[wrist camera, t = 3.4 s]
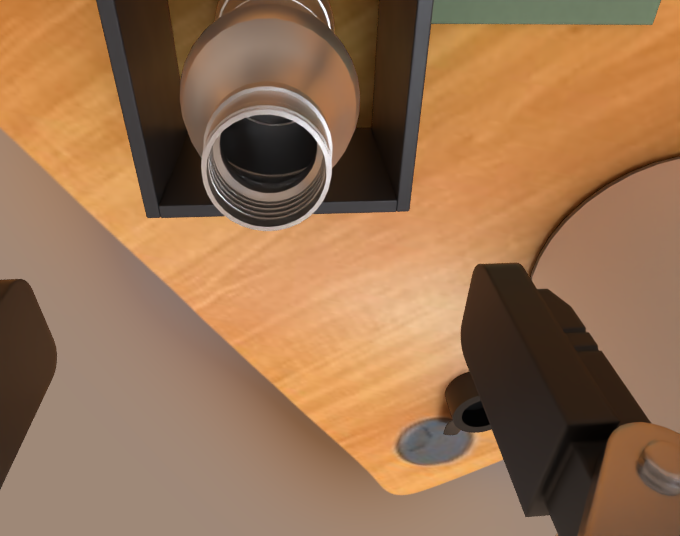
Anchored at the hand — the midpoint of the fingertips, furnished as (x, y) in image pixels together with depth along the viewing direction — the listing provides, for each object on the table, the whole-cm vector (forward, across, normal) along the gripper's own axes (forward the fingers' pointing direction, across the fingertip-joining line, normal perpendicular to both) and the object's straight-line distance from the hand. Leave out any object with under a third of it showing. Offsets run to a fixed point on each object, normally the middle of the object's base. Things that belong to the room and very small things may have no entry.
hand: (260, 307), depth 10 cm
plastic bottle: (+26, 0, 0) cm, 26 cm away
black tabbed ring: (+26, -18, +34) cm, 46 cm away
